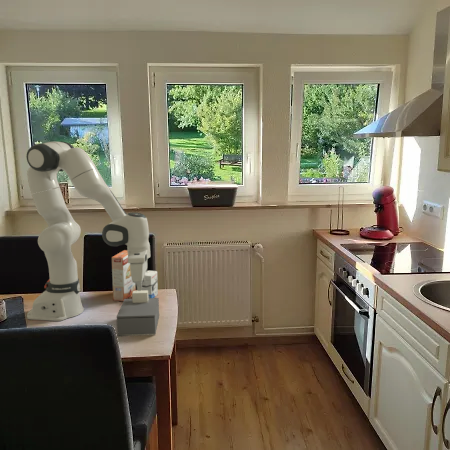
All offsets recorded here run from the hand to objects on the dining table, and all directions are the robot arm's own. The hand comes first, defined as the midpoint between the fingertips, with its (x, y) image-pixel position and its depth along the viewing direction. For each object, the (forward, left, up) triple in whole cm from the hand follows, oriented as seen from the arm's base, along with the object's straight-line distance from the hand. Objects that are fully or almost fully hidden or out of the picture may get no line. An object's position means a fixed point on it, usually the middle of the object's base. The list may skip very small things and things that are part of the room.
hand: (141, 286), depth 168 cm
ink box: (0, +26, -15) cm, 30 cm away
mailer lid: (-1, -6, -7) cm, 9 cm away
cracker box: (-12, +28, -15) cm, 34 cm away
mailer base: (-1, -6, -14) cm, 15 cm away
